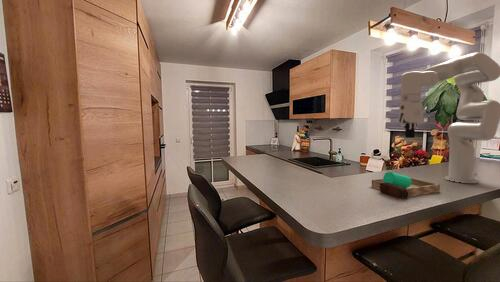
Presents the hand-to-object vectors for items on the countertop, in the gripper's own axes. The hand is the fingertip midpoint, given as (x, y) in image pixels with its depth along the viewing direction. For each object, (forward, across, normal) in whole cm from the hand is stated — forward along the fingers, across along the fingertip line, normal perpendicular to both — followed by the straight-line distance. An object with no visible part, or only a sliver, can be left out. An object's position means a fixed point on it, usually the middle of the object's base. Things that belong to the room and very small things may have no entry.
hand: (409, 137), depth 100 cm
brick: (+25, -16, -5) cm, 30 cm away
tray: (+25, -3, 0) cm, 25 cm away
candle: (+22, -2, 0) cm, 22 cm away
